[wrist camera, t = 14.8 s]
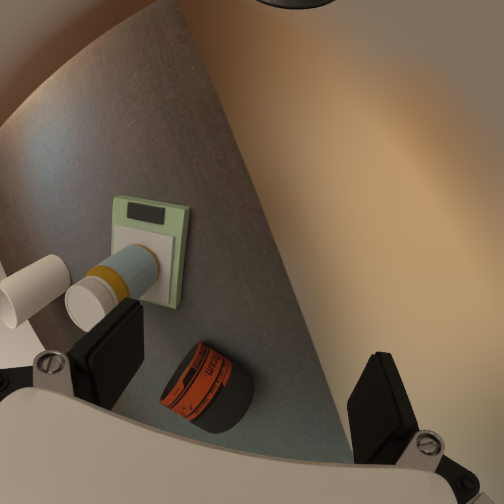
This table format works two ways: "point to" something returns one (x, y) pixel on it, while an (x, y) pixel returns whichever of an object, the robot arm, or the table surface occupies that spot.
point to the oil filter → (209, 390)
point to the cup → (32, 289)
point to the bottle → (111, 285)
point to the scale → (154, 241)
